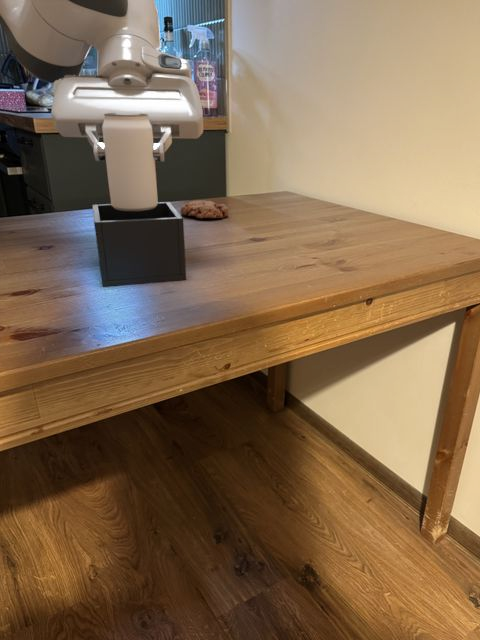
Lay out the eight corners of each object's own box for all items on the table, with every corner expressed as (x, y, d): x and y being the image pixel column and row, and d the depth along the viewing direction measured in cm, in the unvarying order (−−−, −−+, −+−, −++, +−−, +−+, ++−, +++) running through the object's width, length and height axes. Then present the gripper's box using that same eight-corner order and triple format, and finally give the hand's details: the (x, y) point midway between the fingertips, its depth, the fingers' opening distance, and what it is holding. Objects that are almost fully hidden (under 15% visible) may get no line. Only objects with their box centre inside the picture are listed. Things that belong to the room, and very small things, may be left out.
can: (148, 201, 75) (141, 112, 69) (165, 209, 70) (158, 114, 64) (105, 205, 71) (94, 112, 66) (120, 213, 67) (109, 115, 61)
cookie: (185, 210, 113) (184, 196, 112) (231, 212, 113) (231, 198, 111) (175, 220, 104) (174, 205, 103) (225, 222, 104) (225, 207, 102)
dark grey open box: (102, 286, 68) (94, 222, 64) (99, 261, 78) (92, 204, 74) (186, 279, 72) (183, 218, 68) (173, 256, 81) (170, 201, 77)
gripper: (47, 56, 67) (42, 141, 63) (200, 60, 69) (205, 142, 65) (59, 93, 73) (56, 173, 69) (200, 96, 75) (205, 173, 71)
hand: (130, 158), depth 67 cm, fingers closed on can, 6 cm apart
